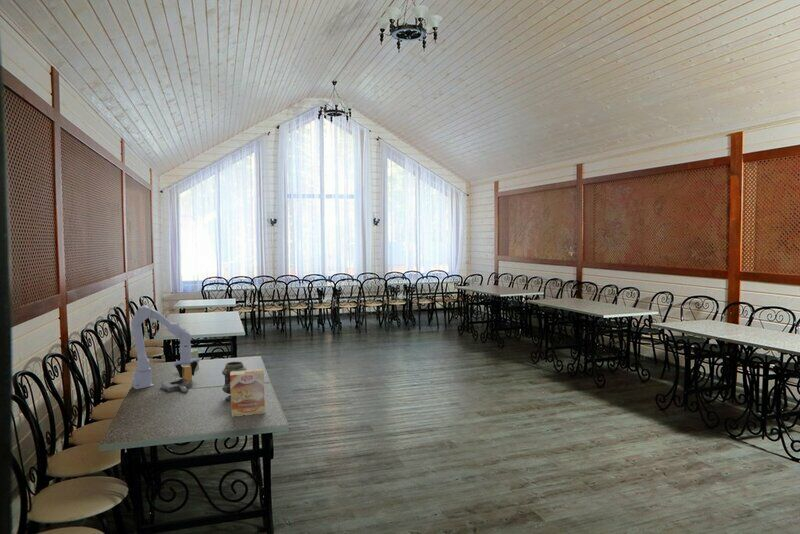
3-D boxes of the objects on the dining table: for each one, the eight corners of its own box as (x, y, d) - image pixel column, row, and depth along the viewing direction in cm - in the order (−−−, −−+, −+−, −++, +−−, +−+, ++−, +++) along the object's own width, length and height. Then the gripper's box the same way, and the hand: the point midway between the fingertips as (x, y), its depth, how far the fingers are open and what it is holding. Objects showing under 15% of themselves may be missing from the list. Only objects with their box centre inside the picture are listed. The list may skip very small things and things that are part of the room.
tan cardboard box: (184, 382, 309) (184, 368, 308) (182, 380, 312) (181, 366, 311) (192, 380, 311) (191, 366, 311) (189, 379, 314) (188, 365, 314)
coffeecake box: (231, 417, 250) (229, 375, 249) (231, 412, 257) (229, 371, 256) (265, 413, 254) (263, 372, 253) (264, 408, 261) (263, 368, 260)
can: (195, 371, 332) (194, 351, 331) (180, 371, 332) (179, 351, 331) (201, 367, 341) (200, 347, 340) (186, 367, 342) (185, 348, 341)
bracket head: (174, 395, 285) (173, 390, 284) (161, 387, 300) (161, 382, 299) (197, 390, 292) (197, 385, 292) (183, 382, 307) (183, 378, 307)
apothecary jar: (252, 395, 282) (250, 360, 281) (239, 402, 270) (237, 366, 269) (231, 393, 285) (230, 359, 284) (217, 401, 274) (216, 365, 272)
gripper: (175, 356, 303) (176, 380, 304) (201, 351, 312) (202, 375, 313) (170, 353, 308) (171, 377, 309) (196, 349, 317) (197, 372, 319)
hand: (186, 376), depth 311 cm, fingers open, 6 cm apart
